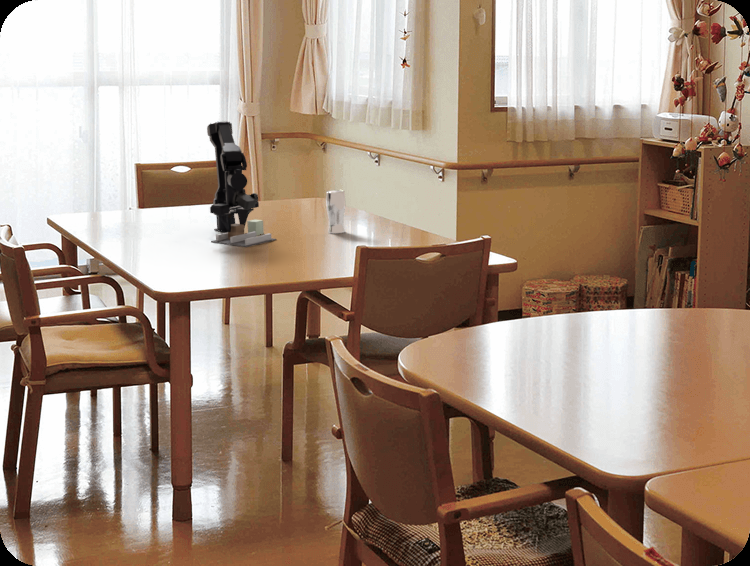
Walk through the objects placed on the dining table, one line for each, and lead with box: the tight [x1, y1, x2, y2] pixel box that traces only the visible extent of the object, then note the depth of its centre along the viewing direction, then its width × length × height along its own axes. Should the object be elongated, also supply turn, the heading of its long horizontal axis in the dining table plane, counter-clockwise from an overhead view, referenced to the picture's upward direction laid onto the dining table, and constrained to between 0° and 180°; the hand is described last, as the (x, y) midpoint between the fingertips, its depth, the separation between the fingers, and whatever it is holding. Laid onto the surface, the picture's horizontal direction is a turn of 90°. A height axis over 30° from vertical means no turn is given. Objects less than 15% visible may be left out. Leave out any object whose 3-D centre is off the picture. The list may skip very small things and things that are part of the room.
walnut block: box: [228, 223, 245, 239], centre depth 333 cm, size 4×4×5 cm
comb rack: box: [210, 232, 277, 248], centre depth 332 cm, size 17×15×2 cm
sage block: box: [246, 219, 265, 236], centre depth 344 cm, size 4×4×5 cm
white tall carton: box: [325, 189, 346, 235], centre depth 344 cm, size 7×7×15 cm
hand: (236, 230), depth 333 cm, fingers open, 6 cm apart
